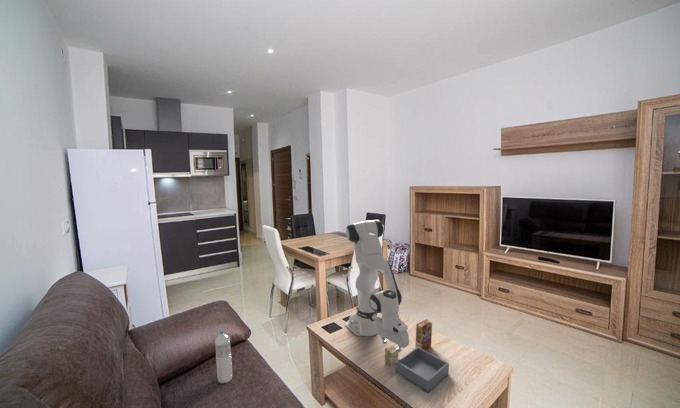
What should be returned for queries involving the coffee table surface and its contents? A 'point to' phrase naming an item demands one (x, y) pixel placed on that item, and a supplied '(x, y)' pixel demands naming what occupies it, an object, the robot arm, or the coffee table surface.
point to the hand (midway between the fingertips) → (391, 347)
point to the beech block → (391, 355)
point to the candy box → (423, 334)
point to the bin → (422, 369)
